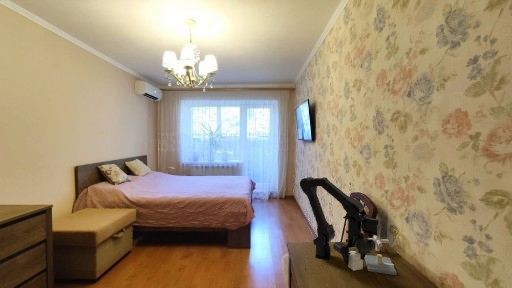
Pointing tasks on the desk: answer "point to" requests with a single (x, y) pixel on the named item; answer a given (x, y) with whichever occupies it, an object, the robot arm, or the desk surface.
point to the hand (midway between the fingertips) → (354, 264)
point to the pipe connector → (379, 241)
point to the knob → (355, 261)
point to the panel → (380, 264)
